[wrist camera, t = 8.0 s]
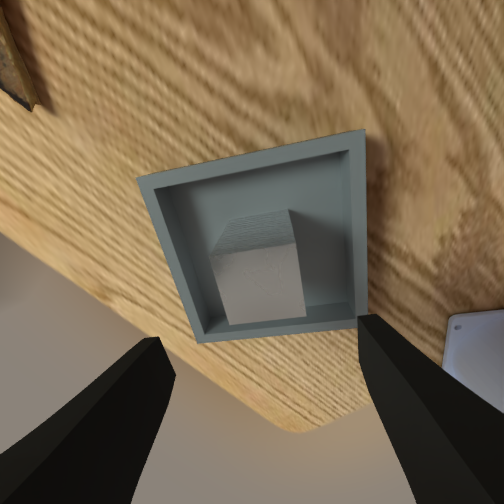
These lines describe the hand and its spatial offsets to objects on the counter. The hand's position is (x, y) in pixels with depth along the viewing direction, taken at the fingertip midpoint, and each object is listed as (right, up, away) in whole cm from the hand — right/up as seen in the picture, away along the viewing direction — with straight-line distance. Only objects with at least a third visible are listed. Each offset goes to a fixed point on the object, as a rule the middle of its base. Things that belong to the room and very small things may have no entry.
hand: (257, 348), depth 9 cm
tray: (+1, +4, +9) cm, 10 cm away
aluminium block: (+1, +4, +8) cm, 9 cm away
